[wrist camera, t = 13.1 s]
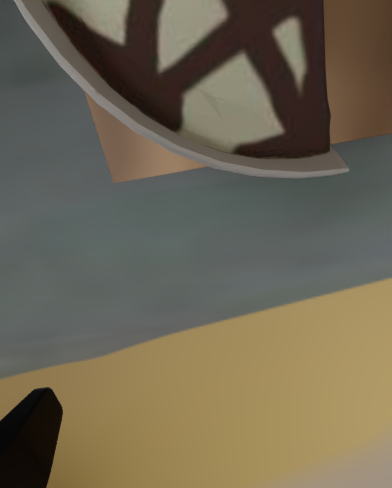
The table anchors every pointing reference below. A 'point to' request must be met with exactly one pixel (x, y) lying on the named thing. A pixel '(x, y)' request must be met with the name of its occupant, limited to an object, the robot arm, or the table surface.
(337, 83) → the walnut block
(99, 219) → the table surface
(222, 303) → the table surface
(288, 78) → the food container
